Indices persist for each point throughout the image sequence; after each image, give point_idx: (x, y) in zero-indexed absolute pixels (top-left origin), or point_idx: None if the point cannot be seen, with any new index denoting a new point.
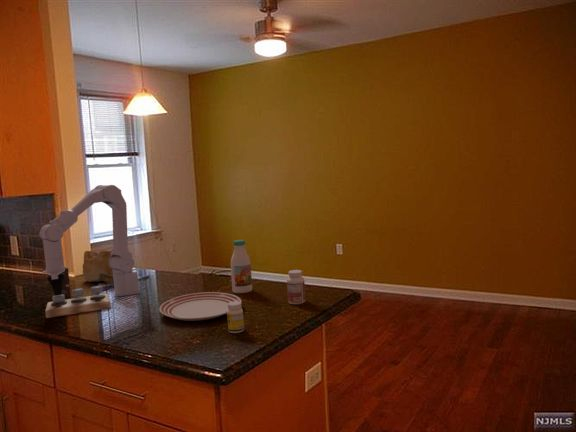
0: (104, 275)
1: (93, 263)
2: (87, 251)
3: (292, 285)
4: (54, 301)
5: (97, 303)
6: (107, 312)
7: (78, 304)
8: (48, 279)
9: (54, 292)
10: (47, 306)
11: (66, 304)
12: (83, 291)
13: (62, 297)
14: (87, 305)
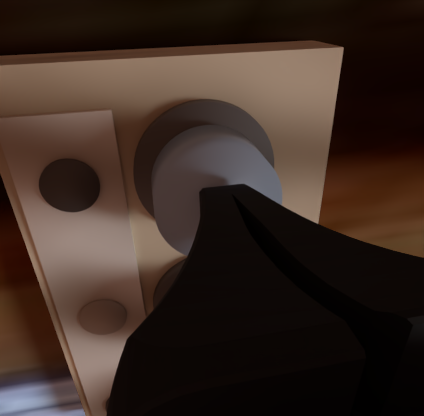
0: None
1: None
2: None
3: None
4: (165, 154)
5: (81, 401)
6: (8, 409)
7: (80, 319)
8: (114, 377)
9: (203, 207)
10: (167, 65)
11: (129, 237)
12: None
13: (174, 242)
14: (69, 357)
